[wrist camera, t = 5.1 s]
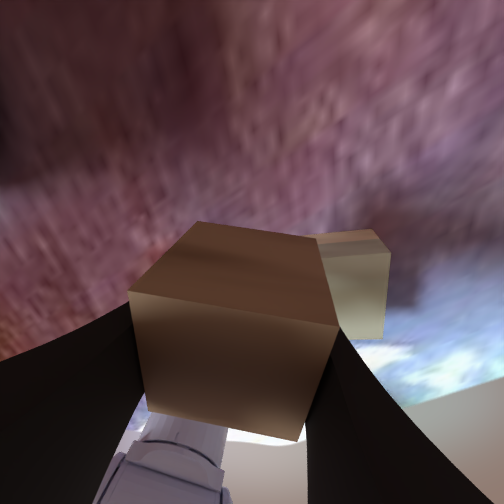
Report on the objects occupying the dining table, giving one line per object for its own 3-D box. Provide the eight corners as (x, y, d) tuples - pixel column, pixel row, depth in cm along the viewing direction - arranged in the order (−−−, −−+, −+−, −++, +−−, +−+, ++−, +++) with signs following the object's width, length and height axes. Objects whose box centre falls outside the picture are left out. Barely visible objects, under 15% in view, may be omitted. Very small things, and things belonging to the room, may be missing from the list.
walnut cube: (293, 327, 12) (297, 442, 8) (197, 311, 12) (148, 410, 8) (315, 238, 10) (340, 327, 5) (197, 221, 10) (127, 290, 6)
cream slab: (366, 302, 20) (382, 339, 17) (284, 306, 22) (284, 340, 18) (370, 227, 17) (391, 252, 14) (275, 236, 19) (272, 261, 15)
